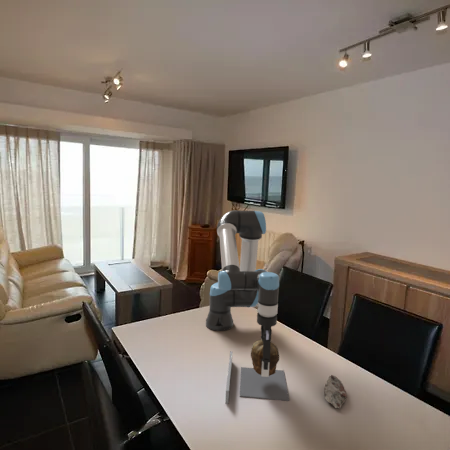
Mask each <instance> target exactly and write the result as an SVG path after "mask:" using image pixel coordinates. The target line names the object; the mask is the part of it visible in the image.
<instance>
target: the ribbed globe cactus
mask: <svg viewBox="0 0 450 450" xmlns="http://www.w3.org/2000/svg"><path fill="white" fill-rule="evenodd" d="M250 358H251V363H252V366H253V367H252V368H253V369H254V370H255V371H256V372H257V373H258V374H260V375H261V371H262V361H261V359H262V358H263V341H262V339H261V338H260V339H259V340H256V341H255V342H253V344H252V347H251V351H250ZM279 361H280V353H279V349H278V346H277V345H276V344H275V343H274V342H272V341H271V344H270V363H269V376H270V375H273V374H275V373H276V372H275V370H277V364H278V363H279Z"/></svg>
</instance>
